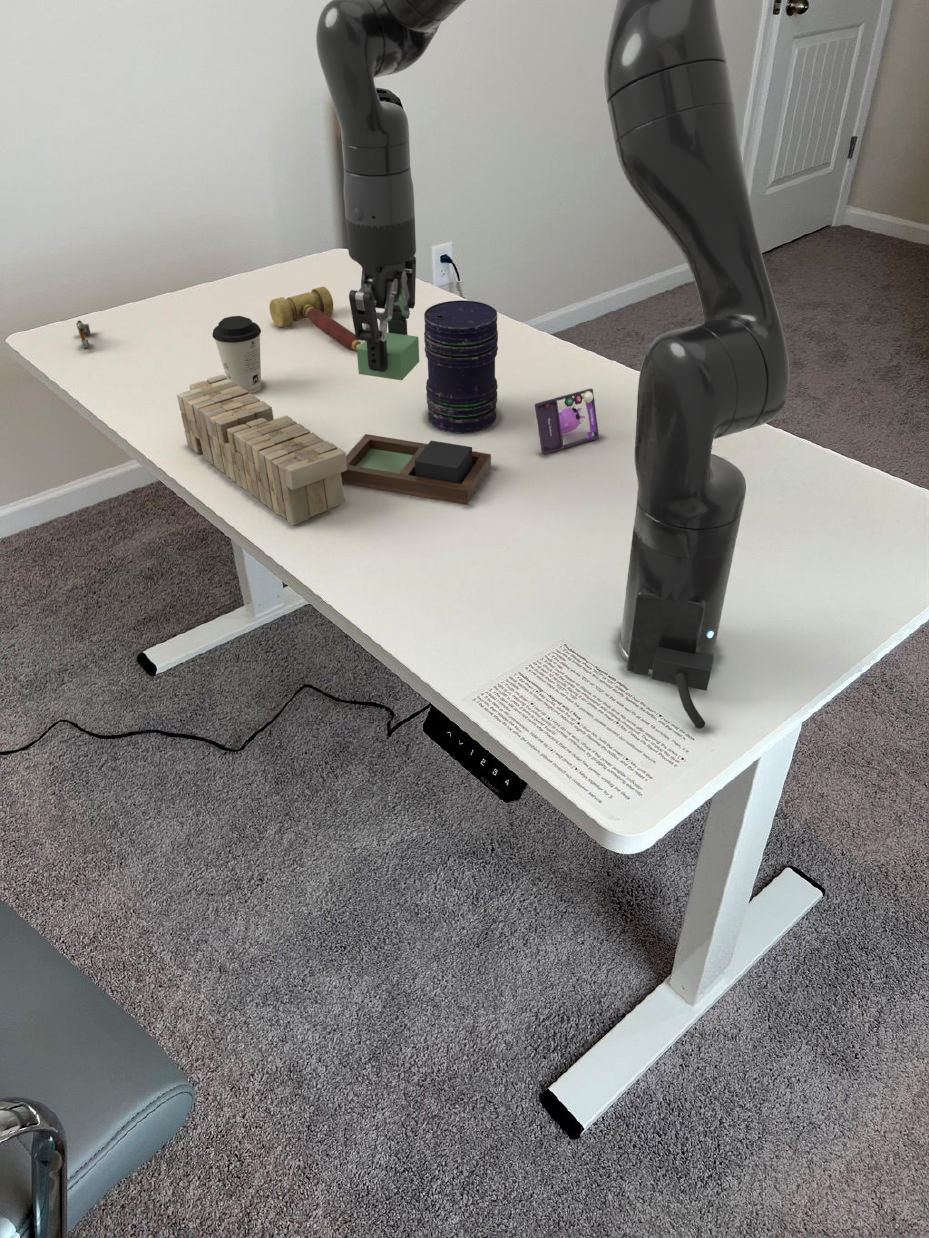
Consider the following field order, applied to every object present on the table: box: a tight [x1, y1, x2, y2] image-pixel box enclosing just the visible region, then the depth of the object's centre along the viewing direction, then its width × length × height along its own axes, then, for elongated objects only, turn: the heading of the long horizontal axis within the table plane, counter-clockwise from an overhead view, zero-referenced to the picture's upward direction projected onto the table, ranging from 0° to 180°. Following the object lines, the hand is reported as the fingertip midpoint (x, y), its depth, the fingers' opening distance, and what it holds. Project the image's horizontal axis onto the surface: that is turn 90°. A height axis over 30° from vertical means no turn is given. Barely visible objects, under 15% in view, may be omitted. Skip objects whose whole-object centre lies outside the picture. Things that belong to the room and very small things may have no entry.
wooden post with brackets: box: [75, 320, 92, 351], centre depth 156 cm, size 2×8×4 cm, turn 19°
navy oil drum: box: [423, 299, 499, 435], centre depth 131 cm, size 10×10×15 cm
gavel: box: [269, 286, 362, 351], centre depth 158 cm, size 21×5×10 cm
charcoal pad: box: [415, 440, 473, 484], centre depth 121 cm, size 6×6×3 cm
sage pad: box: [356, 331, 420, 381], centre depth 115 cm, size 6×6×3 cm
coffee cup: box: [212, 315, 262, 394], centre depth 141 cm, size 7×7×10 cm
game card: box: [534, 388, 600, 455], centre depth 129 cm, size 7×5×9 cm
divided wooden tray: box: [341, 433, 492, 506], centre depth 123 cm, size 9×18×2 cm, turn 71°
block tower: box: [176, 374, 347, 526], centre depth 122 cm, size 8×8×29 cm
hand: (388, 358), depth 115 cm, fingers closed on sage pad, 5 cm apart
